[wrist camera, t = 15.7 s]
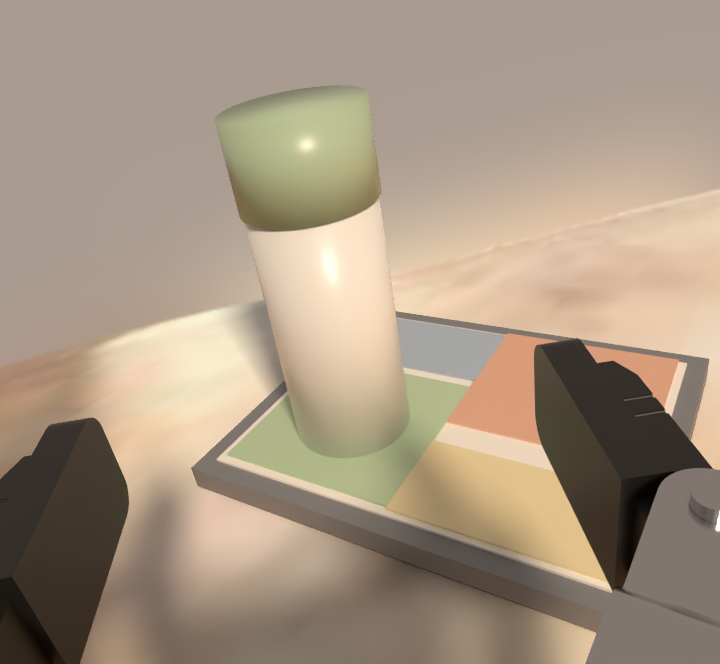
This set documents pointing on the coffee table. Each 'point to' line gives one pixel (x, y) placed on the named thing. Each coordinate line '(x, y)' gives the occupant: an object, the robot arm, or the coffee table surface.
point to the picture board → (452, 467)
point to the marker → (321, 261)
